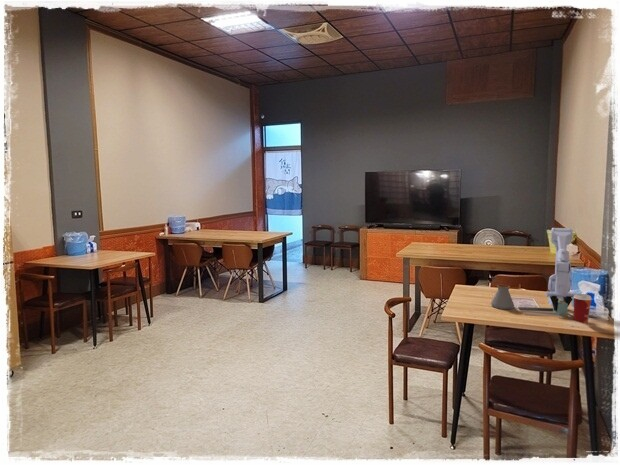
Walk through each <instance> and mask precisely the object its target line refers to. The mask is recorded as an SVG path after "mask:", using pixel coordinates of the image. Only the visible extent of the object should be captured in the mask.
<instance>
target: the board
mask: <svg viewBox="0 0 620 465" xmlns="http://www.w3.org/2000/svg"><path fill="white" fill-rule="evenodd" d="M517 309H518V310H519V311H520V312H521V313H523V315H524V316H530V317H531V316H533V317H534V316H535V317H561V318H563V317H564V318H574V315H572V314H571V313H569V312H567V315H558V314H556V313H555V312H554V311H553V307H538V306H537V307H530V306H518V308H517Z"/></svg>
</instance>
